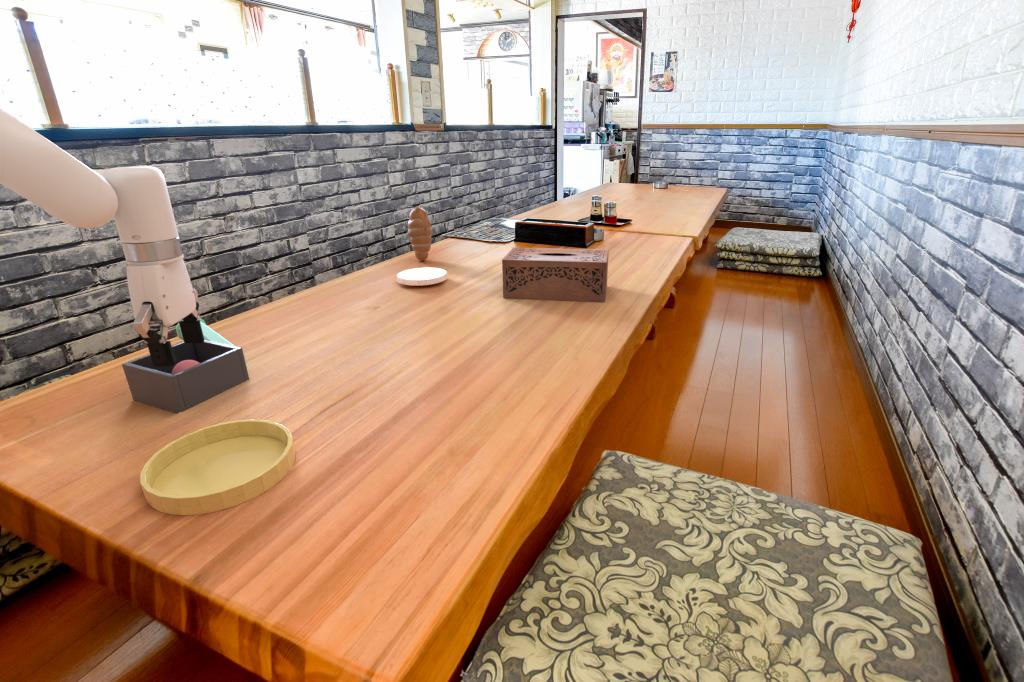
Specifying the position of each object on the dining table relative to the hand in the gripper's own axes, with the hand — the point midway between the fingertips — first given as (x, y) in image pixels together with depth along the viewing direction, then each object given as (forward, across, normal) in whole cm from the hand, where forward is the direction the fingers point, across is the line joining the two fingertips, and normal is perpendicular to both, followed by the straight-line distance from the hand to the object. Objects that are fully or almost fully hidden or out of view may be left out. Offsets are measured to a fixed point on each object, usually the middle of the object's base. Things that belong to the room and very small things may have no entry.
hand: (180, 353), depth 88 cm
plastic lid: (+6, -64, +35) cm, 73 cm away
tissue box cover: (+6, -48, +71) cm, 86 cm away
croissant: (+6, -90, +33) cm, 96 cm away
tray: (+7, +25, +16) cm, 30 cm away
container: (+7, -16, -3) cm, 18 cm away
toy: (+6, 0, 0) cm, 7 cm away
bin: (+7, 0, 0) cm, 7 cm away
